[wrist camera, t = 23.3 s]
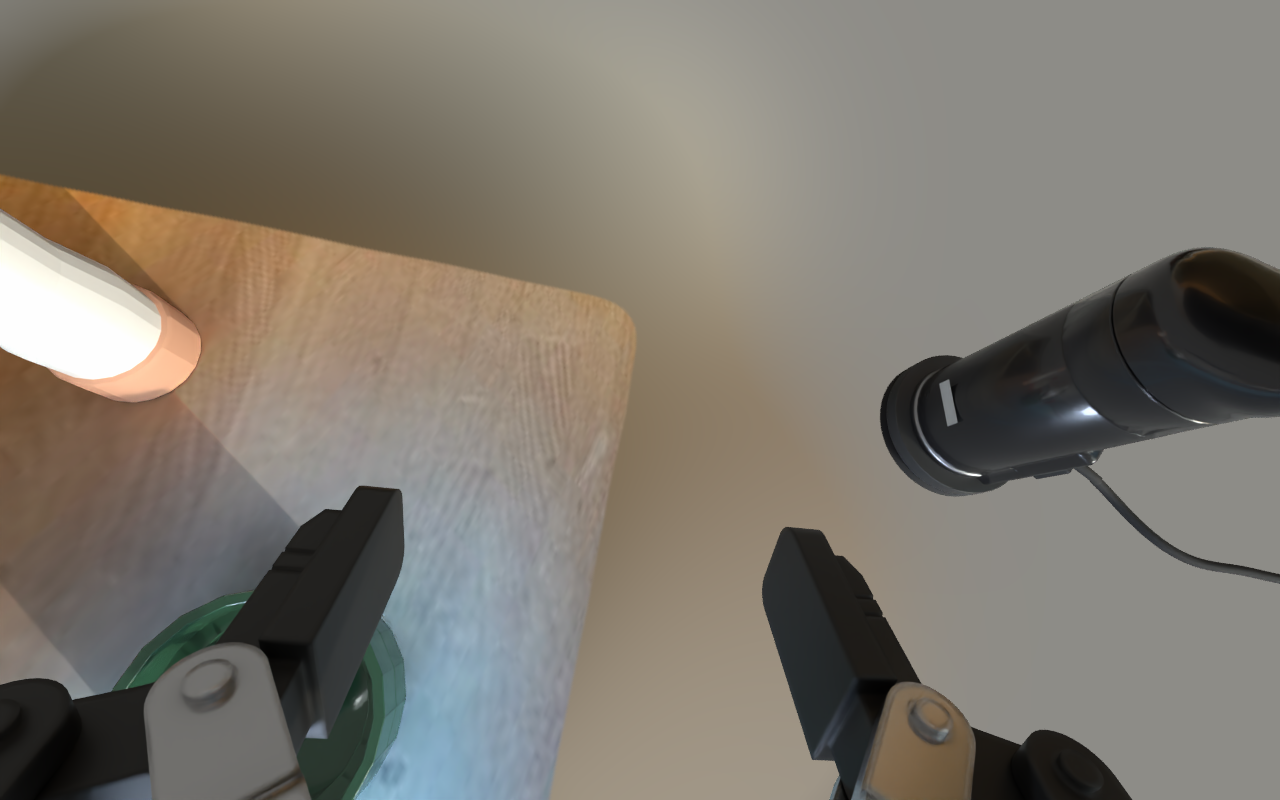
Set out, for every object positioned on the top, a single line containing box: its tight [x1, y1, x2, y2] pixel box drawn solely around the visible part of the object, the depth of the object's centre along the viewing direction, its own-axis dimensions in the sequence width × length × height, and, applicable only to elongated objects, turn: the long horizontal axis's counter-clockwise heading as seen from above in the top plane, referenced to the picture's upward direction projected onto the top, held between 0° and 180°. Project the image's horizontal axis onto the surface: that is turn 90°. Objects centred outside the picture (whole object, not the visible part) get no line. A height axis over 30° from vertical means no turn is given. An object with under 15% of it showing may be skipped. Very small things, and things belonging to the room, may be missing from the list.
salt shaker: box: [0, 209, 201, 402], centre depth 29 cm, size 7×7×19 cm
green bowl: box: [111, 590, 406, 800], centre depth 31 cm, size 14×14×6 cm
